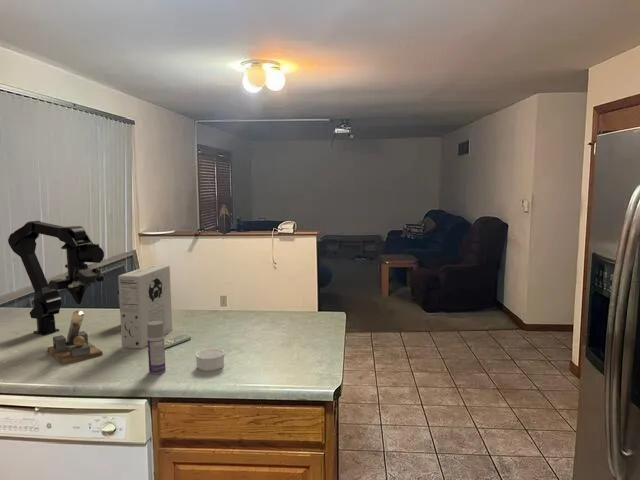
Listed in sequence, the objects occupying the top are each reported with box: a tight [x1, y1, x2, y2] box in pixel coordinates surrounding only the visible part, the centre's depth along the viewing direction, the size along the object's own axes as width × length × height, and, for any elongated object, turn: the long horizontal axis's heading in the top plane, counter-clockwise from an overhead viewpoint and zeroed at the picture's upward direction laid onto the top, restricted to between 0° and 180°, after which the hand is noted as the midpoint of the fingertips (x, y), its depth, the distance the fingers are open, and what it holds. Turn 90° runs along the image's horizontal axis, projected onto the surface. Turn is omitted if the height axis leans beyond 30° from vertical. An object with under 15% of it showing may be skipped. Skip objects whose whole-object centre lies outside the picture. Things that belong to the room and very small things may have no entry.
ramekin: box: [195, 347, 226, 372], centre depth 158 cm, size 9×9×4 cm
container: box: [147, 321, 167, 375], centre depth 153 cm, size 5×5×15 cm
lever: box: [66, 310, 84, 346], centre depth 169 cm, size 3×4×16 cm
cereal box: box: [117, 264, 173, 349], centre depth 184 cm, size 22×8×25 cm, turn 168°
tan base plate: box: [46, 330, 103, 365], centre depth 170 cm, size 17×12×7 cm
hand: (78, 304), depth 187 cm, fingers closed
